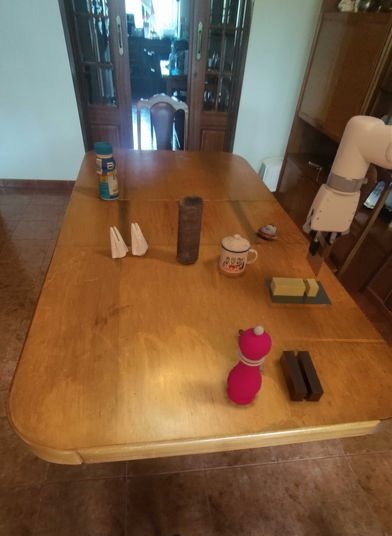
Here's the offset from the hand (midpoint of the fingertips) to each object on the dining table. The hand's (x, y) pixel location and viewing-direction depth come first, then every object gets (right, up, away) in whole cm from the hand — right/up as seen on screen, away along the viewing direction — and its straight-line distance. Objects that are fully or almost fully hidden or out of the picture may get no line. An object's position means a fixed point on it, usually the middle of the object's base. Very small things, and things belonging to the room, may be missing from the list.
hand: (316, 253), depth 87 cm
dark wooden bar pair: (-9, -33, -13) cm, 37 cm away
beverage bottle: (-71, +39, +51) cm, 95 cm away
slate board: (-2, -10, +10) cm, 14 cm away
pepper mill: (-23, -36, -17) cm, 46 cm away
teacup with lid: (-20, 0, +18) cm, 27 cm away
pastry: (-6, +17, +35) cm, 40 cm away
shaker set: (-55, +5, +19) cm, 59 cm away
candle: (-36, +3, +19) cm, 41 cm away
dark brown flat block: (0, -3, +3) cm, 4 cm away
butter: (-6, -9, +9) cm, 14 cm away
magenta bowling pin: (-20, -27, -8) cm, 34 cm away
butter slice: (+1, -9, +9) cm, 13 cm away
